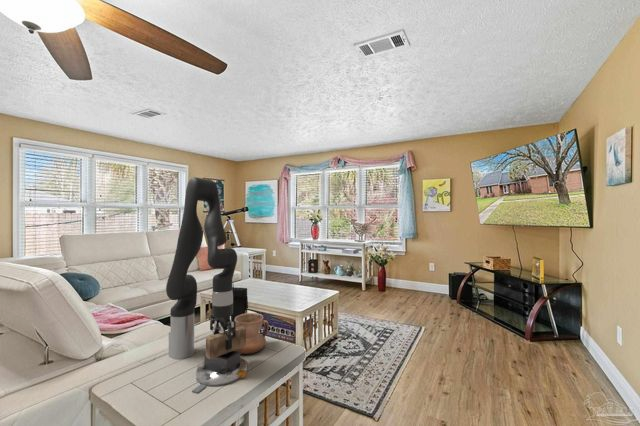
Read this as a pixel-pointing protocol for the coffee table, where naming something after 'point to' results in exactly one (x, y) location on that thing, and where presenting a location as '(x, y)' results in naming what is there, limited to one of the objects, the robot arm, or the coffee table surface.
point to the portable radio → (239, 302)
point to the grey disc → (221, 369)
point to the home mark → (199, 388)
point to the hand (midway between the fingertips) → (222, 345)
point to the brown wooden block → (217, 343)
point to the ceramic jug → (252, 332)
